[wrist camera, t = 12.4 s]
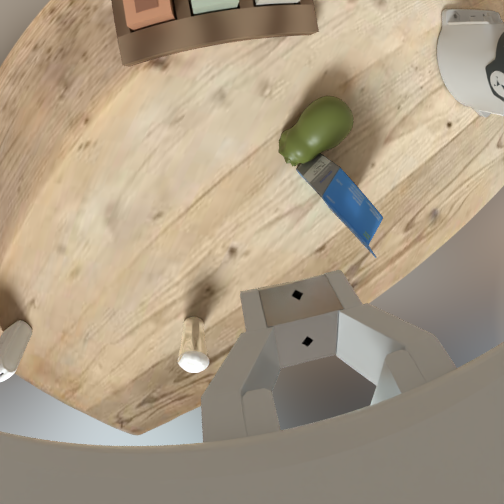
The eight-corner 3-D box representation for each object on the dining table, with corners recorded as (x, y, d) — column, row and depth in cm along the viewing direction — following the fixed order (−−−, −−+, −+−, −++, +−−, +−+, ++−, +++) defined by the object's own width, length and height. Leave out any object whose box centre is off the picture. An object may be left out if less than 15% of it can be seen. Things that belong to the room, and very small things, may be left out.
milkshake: (191, 305, 46) (190, 355, 38) (213, 324, 49) (216, 373, 40) (170, 319, 47) (166, 368, 39) (193, 336, 50) (193, 384, 41)
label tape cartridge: (355, 192, 40) (403, 234, 29) (336, 211, 41) (377, 259, 30) (314, 148, 36) (358, 178, 25) (293, 169, 37) (328, 208, 27)
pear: (368, 127, 30) (304, 183, 34) (353, 115, 34) (297, 165, 38) (337, 90, 27) (269, 152, 32) (324, 83, 31) (266, 137, 36)
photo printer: (14, 344, 47) (-5, 389, 36) (1, 331, 44) (-21, 376, 34) (36, 331, 45) (15, 381, 35) (21, 316, 43) (-4, 365, 33)
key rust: (170, -10, 23) (165, -23, 18) (176, 22, 25) (171, 12, 21) (131, 1, 22) (121, -10, 18) (137, 33, 25) (126, 25, 21)
